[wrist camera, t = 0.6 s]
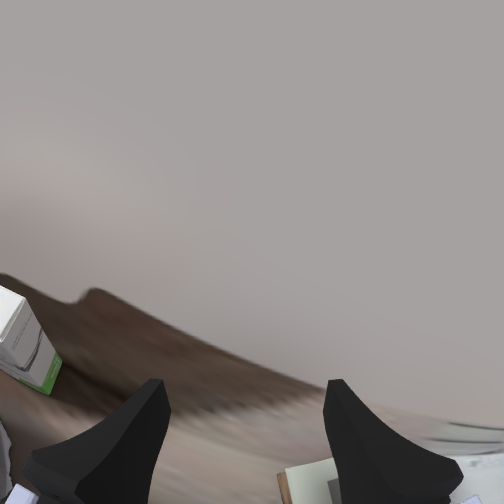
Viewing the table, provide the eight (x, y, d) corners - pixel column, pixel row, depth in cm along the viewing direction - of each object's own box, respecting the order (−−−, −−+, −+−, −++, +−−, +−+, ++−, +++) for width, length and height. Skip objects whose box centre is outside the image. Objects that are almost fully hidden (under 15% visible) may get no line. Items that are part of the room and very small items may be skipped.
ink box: (64, 361, 25) (28, 295, 18) (49, 398, 21) (0, 343, 14) (11, 335, 24) (-28, 267, 17) (-5, 367, 21) (-54, 304, 13)
